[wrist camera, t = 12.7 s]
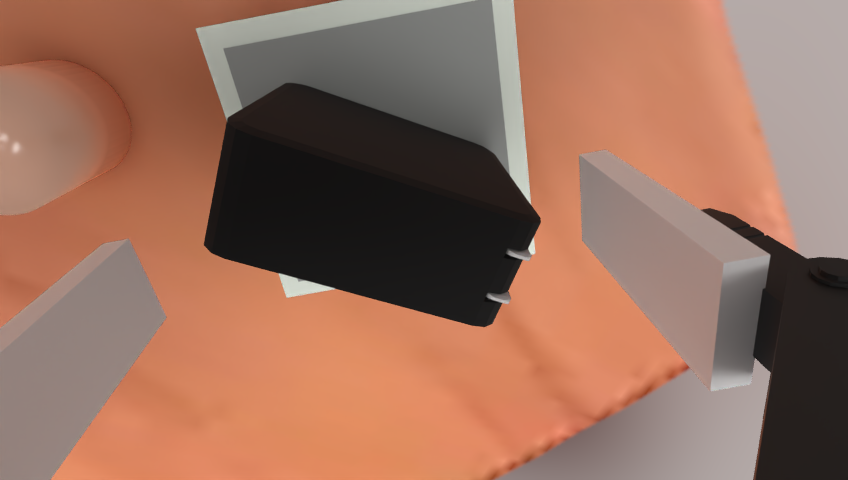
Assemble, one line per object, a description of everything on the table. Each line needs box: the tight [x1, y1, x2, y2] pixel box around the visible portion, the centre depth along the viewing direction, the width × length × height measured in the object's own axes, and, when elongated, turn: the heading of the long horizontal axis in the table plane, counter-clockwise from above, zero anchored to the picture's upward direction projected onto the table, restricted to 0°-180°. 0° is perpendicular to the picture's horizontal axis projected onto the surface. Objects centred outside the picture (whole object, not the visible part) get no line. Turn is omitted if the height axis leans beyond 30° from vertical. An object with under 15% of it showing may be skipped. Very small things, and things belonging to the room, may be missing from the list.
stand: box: [195, 0, 535, 298], centre depth 26 cm, size 14×14×3 cm
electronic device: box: [204, 83, 541, 327], centre depth 19 cm, size 4×10×10 cm, turn 71°
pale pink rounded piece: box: [0, 60, 132, 215], centre depth 23 cm, size 6×6×6 cm
